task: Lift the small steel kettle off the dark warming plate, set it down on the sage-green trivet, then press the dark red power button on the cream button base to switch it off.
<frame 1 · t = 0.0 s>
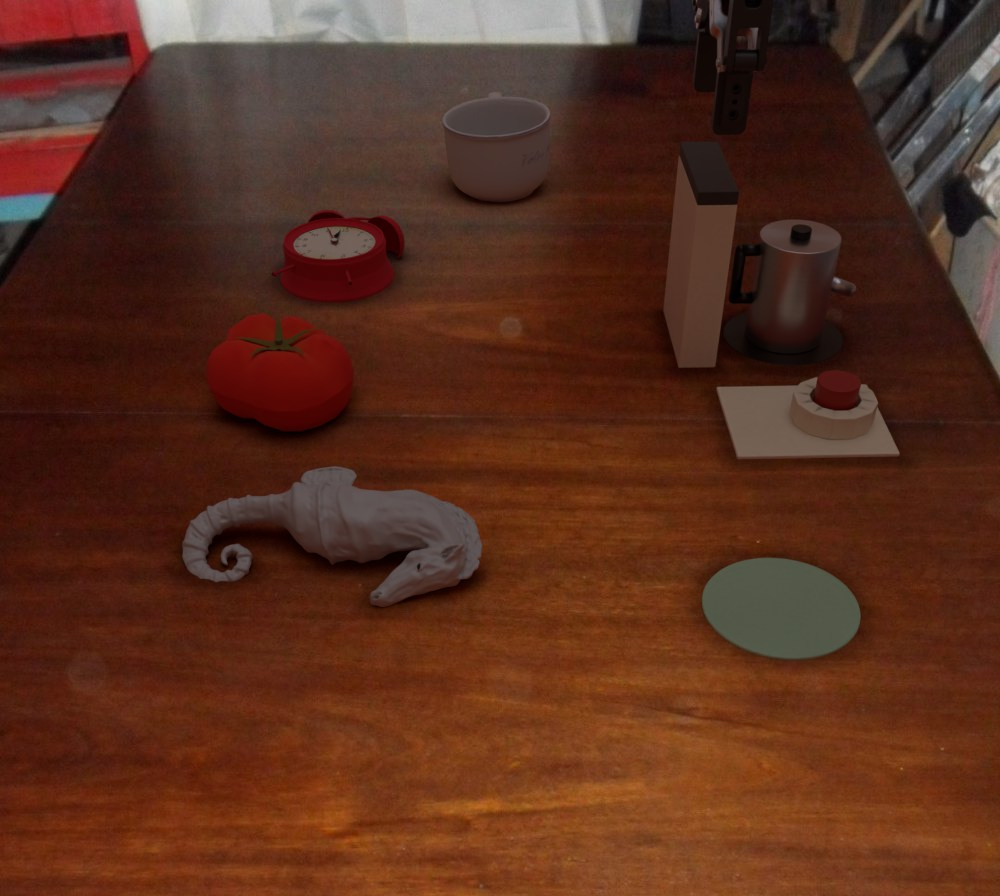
hand: (717, 110, 82), 21 cm above the table, tool pointing down, fingers open, 8 cm apart
kettle: (782, 335, 100), point 1 cm above the table, touching coffee maker plate
alarm clock: (344, 276, 111), on the table
power button: (836, 391, 89), point 3 cm above the table, slide at 0.1 cm
seahorse: (333, 568, 80), on the table
cream button base: (802, 432, 91), on the table
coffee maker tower: (687, 348, 101), on the table
tomato: (287, 412, 94), on the table
coffee maker plate: (780, 346, 101), on the table
trivet: (778, 614, 76), on the table
teacup: (499, 189, 125), on the table
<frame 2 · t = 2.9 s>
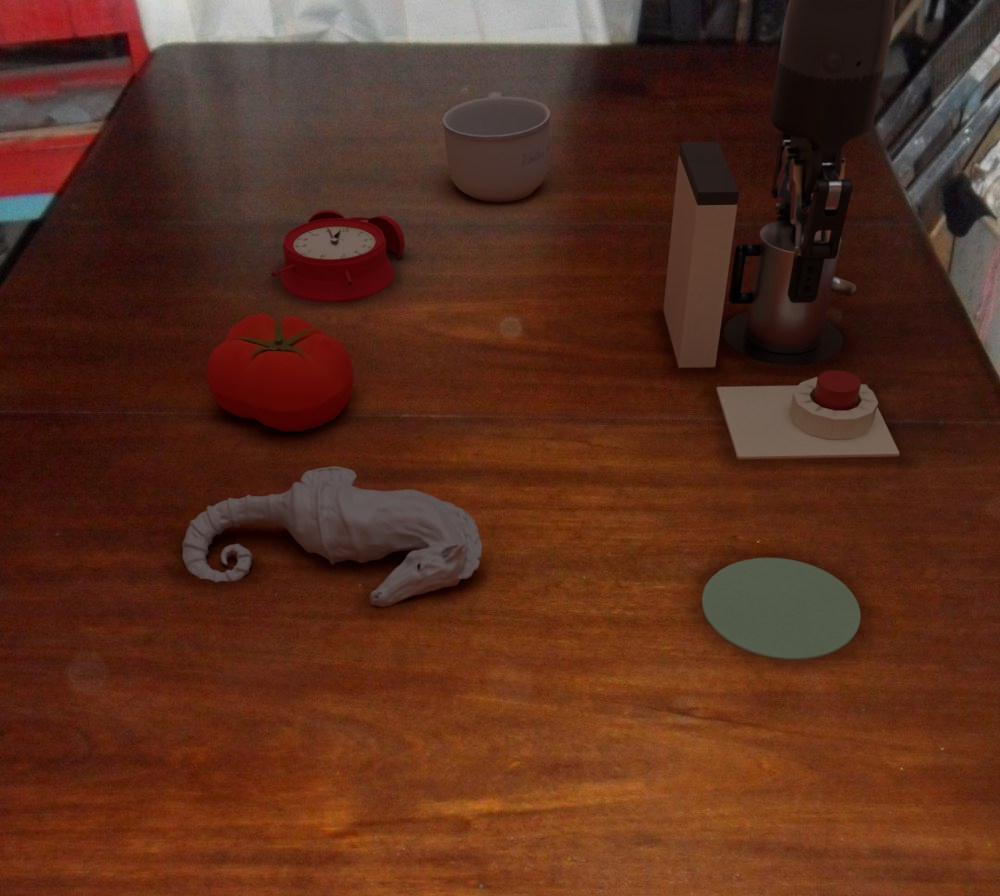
hand: (792, 280, 97), 6 cm above the table, tool pointing down, fingers closed on kettle, 6 cm apart
kettle: (782, 335, 100), point 1 cm above the table, touching coffee maker plate, gripper
everything else where it was.
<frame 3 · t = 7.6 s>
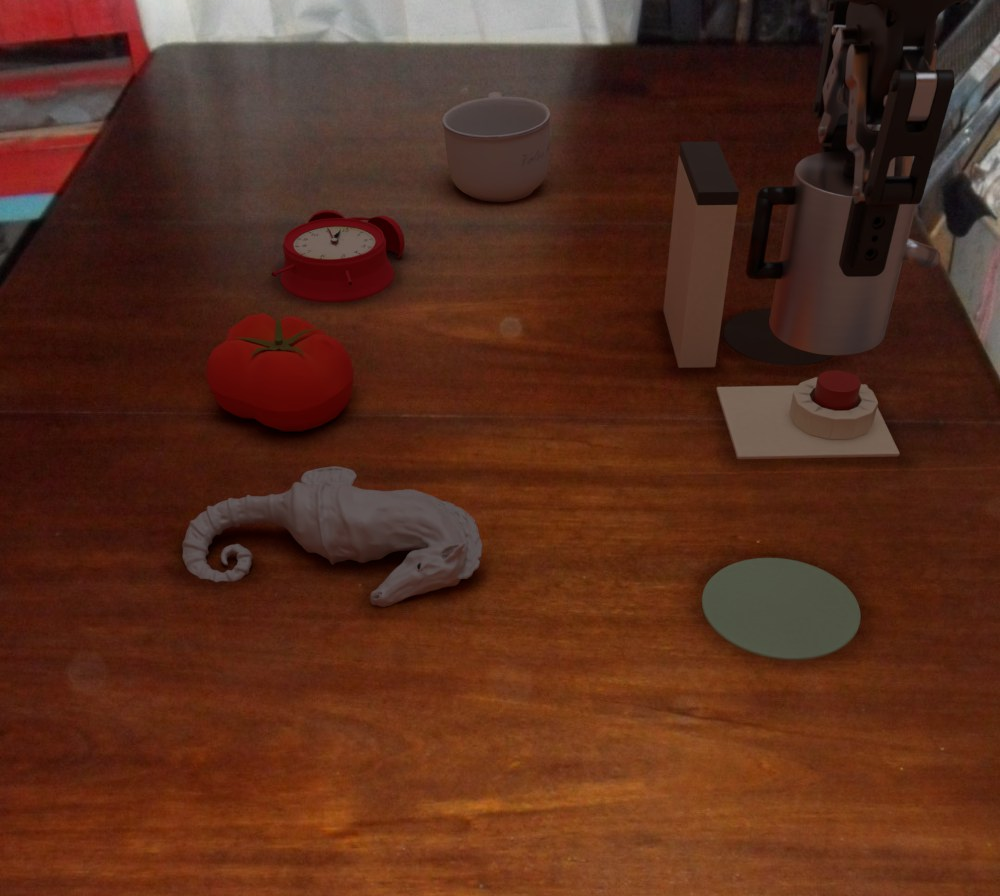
hand: (844, 243, 64), 22 cm above the table, tool pointing down, fingers closed on kettle, 6 cm apart
kettle: (826, 328, 67), point 17 cm above the table, touching gripper
everything else where it was.
when the fingers open (6 cm above the table, at t = 12.2 s): kettle stays where it is, resting on trivet.
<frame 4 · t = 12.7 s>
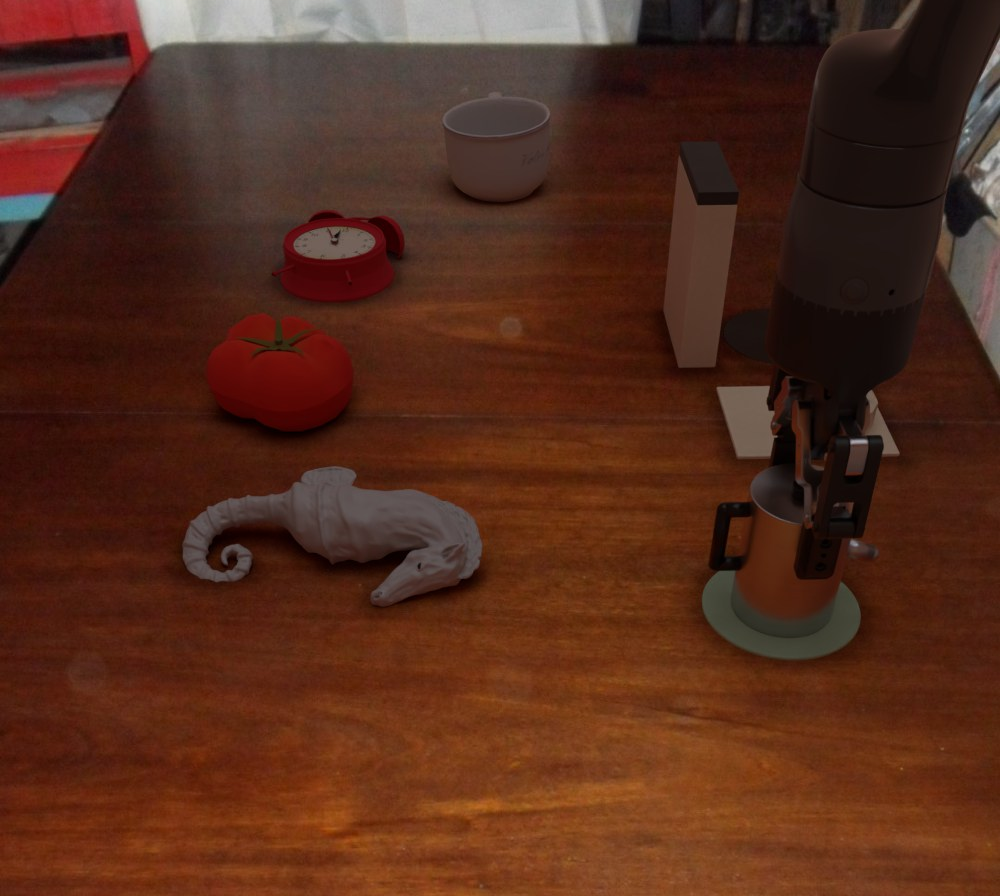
hand: (796, 531, 72), 7 cm above the table, tool pointing down, fingers open, 8 cm apart
kettle: (781, 604, 76), point 1 cm above the table, touching trivet
everything else where it was.
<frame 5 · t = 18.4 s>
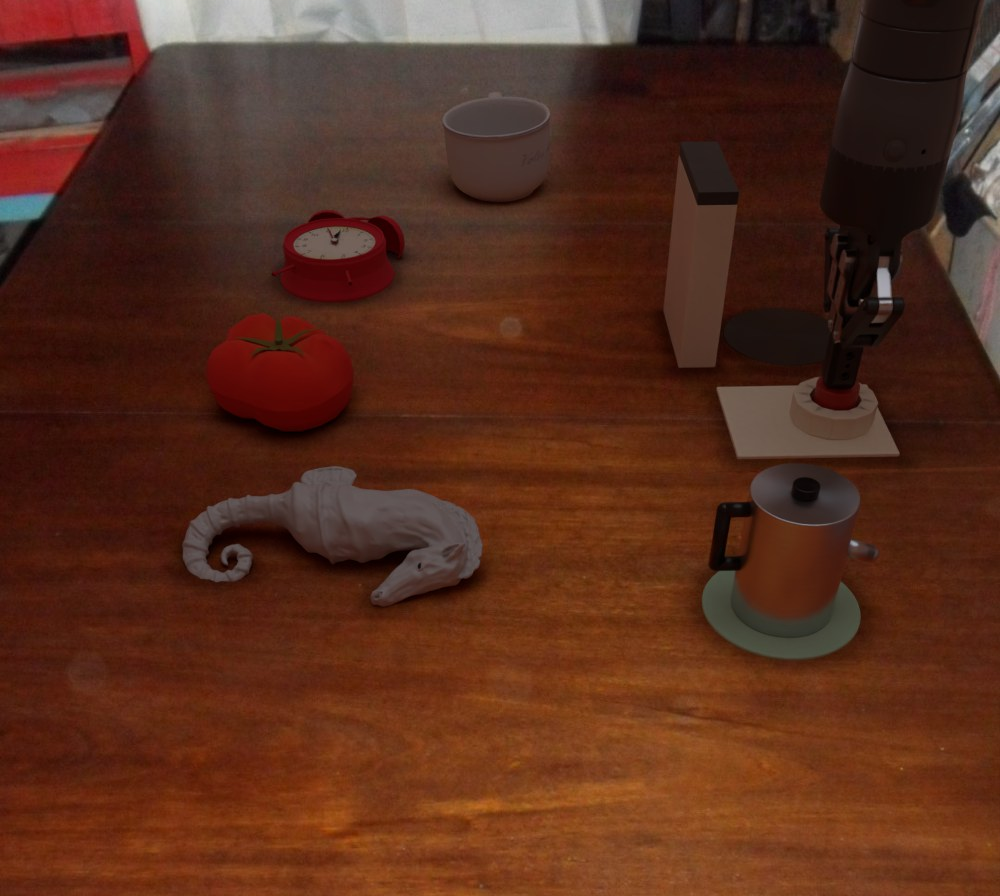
hand: (836, 383, 89), 4 cm above the table, tool pointing down, fingers closed
power button: (836, 394, 89), point 3 cm above the table, slide at -0.2 cm, touching gripper
everything else where it was.
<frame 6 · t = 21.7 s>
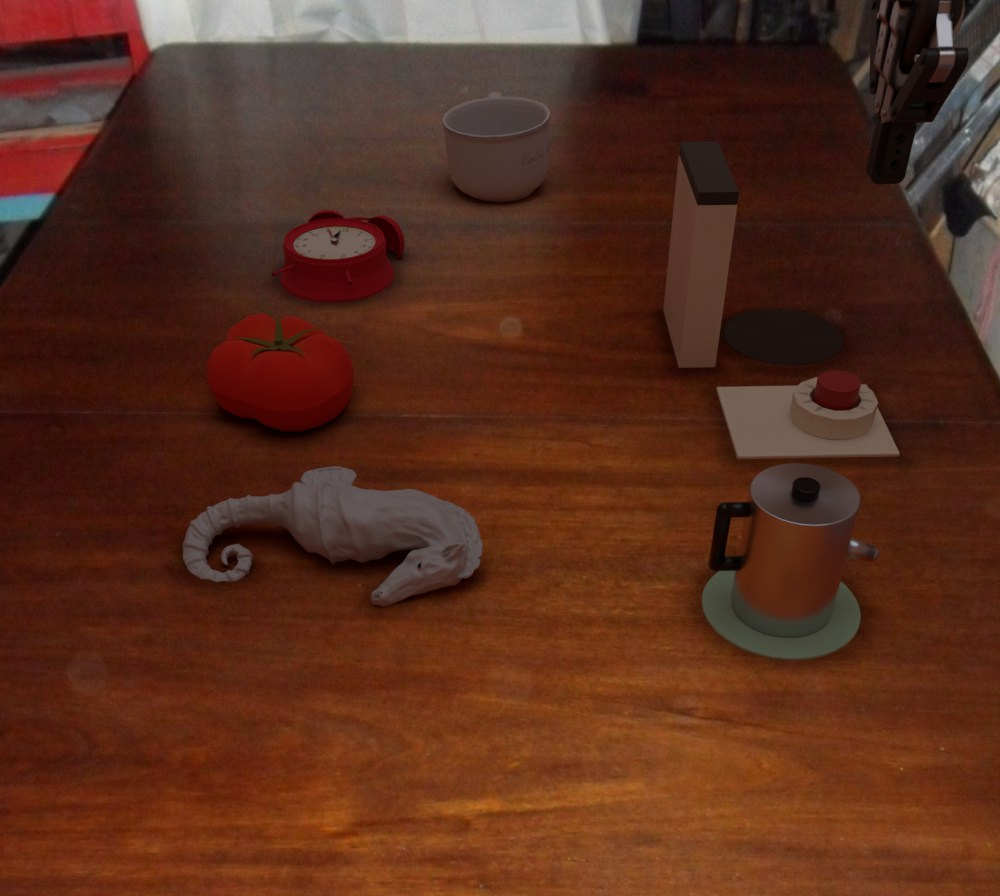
hand: (883, 179, 78), 19 cm above the table, tool pointing down, fingers closed
power button: (836, 391, 89), point 3 cm above the table, slide at 0.1 cm
everything else where it was.
at the end: kettle 0.0 cm off-centre on the trivet, point 0.8 cm above the trivet's base; kettle tilted 0°; power button pushed in 1.1 cm at the most during the clip, back to where it started at the end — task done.
